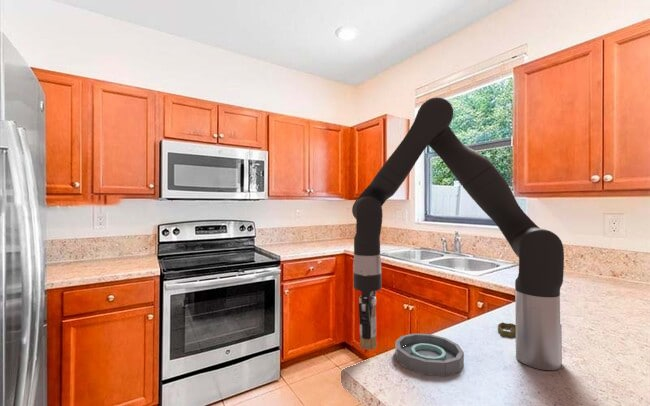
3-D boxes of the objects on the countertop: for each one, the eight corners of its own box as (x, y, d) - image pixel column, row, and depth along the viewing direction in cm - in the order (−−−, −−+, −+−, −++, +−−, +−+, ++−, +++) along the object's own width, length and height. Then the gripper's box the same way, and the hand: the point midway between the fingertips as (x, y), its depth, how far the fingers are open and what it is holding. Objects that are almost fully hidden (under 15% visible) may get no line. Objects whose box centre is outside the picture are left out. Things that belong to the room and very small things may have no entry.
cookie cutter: (533, 348, 85) (533, 341, 85) (490, 333, 95) (490, 327, 95) (560, 334, 95) (560, 327, 95) (519, 321, 105) (519, 315, 105)
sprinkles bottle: (366, 341, 86) (365, 293, 86) (380, 346, 83) (379, 296, 83) (356, 347, 83) (355, 296, 83) (370, 352, 79) (369, 300, 80)
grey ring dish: (430, 340, 89) (430, 330, 89) (477, 367, 74) (477, 354, 74) (383, 350, 83) (383, 339, 83) (425, 381, 68) (425, 368, 68)
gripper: (358, 265, 91) (358, 323, 91) (348, 275, 77) (348, 344, 77) (384, 266, 89) (384, 326, 89) (378, 277, 75) (378, 348, 75)
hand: (368, 334), depth 83 cm, fingers closed on sprinkles bottle, 4 cm apart
